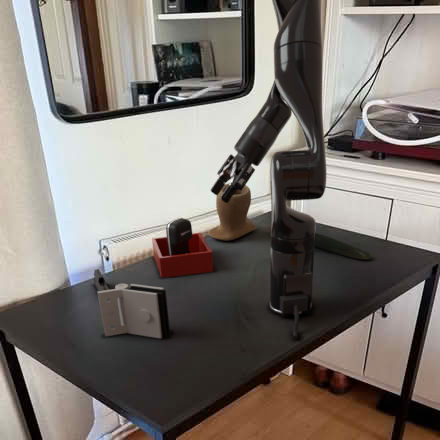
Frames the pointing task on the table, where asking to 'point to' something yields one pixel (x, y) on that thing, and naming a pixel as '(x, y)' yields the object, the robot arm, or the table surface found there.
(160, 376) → the table surface
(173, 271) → the open red box
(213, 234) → the stone cup
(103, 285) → the lighting fixture
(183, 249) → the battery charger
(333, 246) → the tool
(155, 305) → the hinge
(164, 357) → the table surface
